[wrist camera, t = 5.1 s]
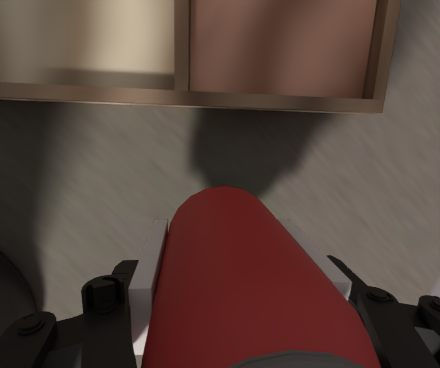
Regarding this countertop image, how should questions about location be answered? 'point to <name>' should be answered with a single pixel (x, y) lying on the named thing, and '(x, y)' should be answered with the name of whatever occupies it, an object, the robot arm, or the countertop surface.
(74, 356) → the robot arm
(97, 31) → the caddy tray
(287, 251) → the beer can
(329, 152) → the countertop surface
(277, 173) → the countertop surface
